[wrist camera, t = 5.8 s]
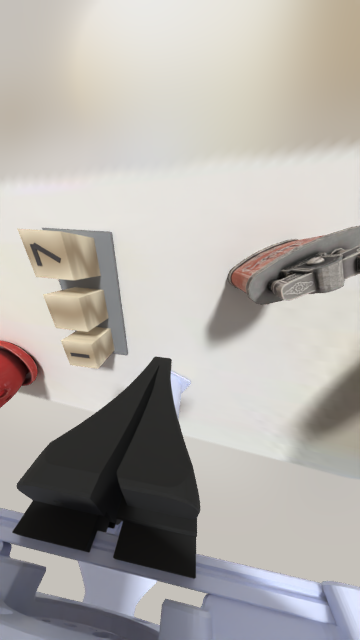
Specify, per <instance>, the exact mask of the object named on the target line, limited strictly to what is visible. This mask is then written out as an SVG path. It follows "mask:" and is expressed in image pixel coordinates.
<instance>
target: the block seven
mask: <svg viewBox="0 0 360 640" xmlns="http://www.w3.org/2000/svg"><path fill="white" fill-rule="evenodd" d="M18 231H19V234H20V237H21V239H22V242H23V244H24V247H25V249H26V252H27V255H28V257H29V260H30V262H31V265H32V267H33V270H34V273H35V275H36V277H41V278H53V279H64V280H79V279H85V278H90V277H96V276H101V274H100V269H99V263H98V258H97V252H96V247H95V242H94V238H91V237H86V236H81V235H76V234H71V233H66V232H62V231H47V230H31V229H18Z"/></svg>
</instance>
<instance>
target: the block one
mask: <svg viewBox="0 0 360 640" xmlns="http://www.w3.org/2000/svg"><path fill="white" fill-rule="evenodd" d="M61 342H62V345H63V347H64V350H65V352H66V355H67V358H68V360H69V363H70V365H74V366H81V367H88V368H96V369H98V368H99V367H100V366H101V365H102V364H103V363H104V362H105V360H106V359H107V358H108V357H109V356H110V355H111V354H112V353H113V351H114V344H113V339H112V333H111V329H110V328H101V327H94V328H93V329H91V330H90V331H88V332H85V331H76V332H74V333H73V334H71V335H69V336H68V337H66V338H64V339H63V340H61Z"/></svg>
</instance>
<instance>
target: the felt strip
mask: <svg viewBox="0 0 360 640" xmlns="http://www.w3.org/2000/svg"><path fill="white" fill-rule="evenodd" d="M42 229H43V230H47V231H62V232H66V233H71V234H76V235H81V236H86V237H91V238H94V242H95V247H96V252H97V258H98V263H99V269H100V274H101V276H96V277H90V278H85V279H79V280H64V279H59V282H60V285H61V288H62V290H65V289H69V288H73V287H78V288H89V289H100V290H104V296H105V301H106V306H107V312H108V317H109V318H108V319H106V320H105V321H103V322H102V323H100V324H99V325H97V326H96V327H101V328H110V329H111V333H112V339H113V344H114V351H113V353H116V354H123V355H127V354H128V350H127V342H126V335H125V327H124V320H123V312H122V305H121V297H120V290H119V282H118V275H117V267H116V260H115V252H114V245H113V237H112V232H104V231H87V230H70V229H53V228H42ZM76 331H77V330H75V332H76Z"/></svg>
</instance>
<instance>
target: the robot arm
mask: <svg viewBox="0 0 360 640" xmlns="http://www.w3.org/2000/svg"><path fill="white" fill-rule="evenodd" d="M171 361H172V360H171V359H170V358H162V357H154V359H153V360H152V361H151V362H150V364H149V365H148V366H147V367H146V368H145V369H144V371H143V372H142V373H141V374H140V375H139V376H138V377H137V378H136V379H135V380H134V381H133V382H132V383H131V384H130V385H129V386H128V387H127V388H126V389H125V390H124V391H123V392H121V393H120V394H119V395H118V396H117V397H116V398H114V399H113V400H112V401H111V402H109V403H108V404H107V405H106V406H104V407H103V408H102V409H100V410H99V411H98V412H96V413H95V414H94V415H92V416H91V417H89V418H88V419H86V420H85V421H84V422H82V423H81V424H79V425H78V426H76V427H75V428H73V429H71V430H70V431H68V432H67V433H65V434H63V435H62V436H60V437H59V438H57V439H56V440H54V441H52V442H51V443H50V444H49V445H48V446H47V447H46V448H45V449H44V450H43V451H42V453H41V454H40V455H39V456H38V458H37V459H36V460H35V462H34V463H33V464H32V465H31V467H30V468H29V469H28V470H27V472H26V473H25V474H24V476H23V477H22V478H21V479H20V481H19V482H18V483H17V489H18V490H19V491H21V492H22V493H23V494H25V495H26V496H28V497H29V498H31V499H32V500H33V502H32V503H31V505H30V506H29V508H28V509H27V511H26V512H25V513H20V512H16V511H12V510H7V509H3V508H0V640H360V587H358V586H353V585H349V584H344V583H340V582H334V581H323V582H322V583H319V582H315V581H311V580H306V579H302V578H297V577H293V576H289V575H285V574H281V573H276V572H272V571H268V570H263V569H259V568H255V567H251V566H246V565H242V564H238V563H234V562H229V561H225V560H221V559H217V558H212V557H208V556H204V555H199V554H196V537H197V516H198V514H199V512H200V500H199V494H198V489H197V484H196V479H195V475H194V470H193V466H192V463H191V460H190V457H189V454H188V451H187V448H186V445H185V442H184V439H183V435H182V432H181V428H180V425H179V421H178V418H179V409H180V400H181V393H182V392H183V391H184V390H185V389H186V388H187V387H188V386H189V385H190V384H191V381H190V380H188V379H186V378H184V377H182V376H180V375H178V374H176V373H174V372H172V371H171ZM10 543H11V544H15V545H19V546H23V547H26V548H31V549H34V550H39V551H42V552H47V553H50V554H54V555H58V556H62V557H66V558H70V559H74V560H78V563H79V567H80V570H81V574H82V577H83V581H84V586H85V596H84V599H83V602H78V601H74V600H70V599H66V598H61V597H57V596H53V595H49V594H45V593H40V592H36V591H37V588H38V586H39V584H40V582H41V580H42V578H43V576H44V574H45V572H46V567H44V566H40V565H37V564H34V563H29V562H26V561H21V560H17V559H12V558H10V556H9V555H10V551H11V544H10ZM157 581H160V582H164V583H168V584H172V585H176V586H180V587H184V588H188V589H191V590H195V591H200V592H203V593H207V595H206V596H205V597H204V599H203V604H202V606H201V608H199V607H196V606H193V605H189V604H185V603H181V602H177V601H173V600H168V599H165V600H164V602H163V604H162V611H161V622H160V625H157V624H154V623H151V622H148V621H145V620H142V619H138V618H136V617H134V612H135V607H136V605H137V603H138V602H139V600H140V599H141V598H142V597H143V596H144V595H145V594H146V593H147V591H148V590H149V589H150V588H151V587H152V586H153V585H154V584H155V583H156V582H157Z"/></svg>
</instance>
